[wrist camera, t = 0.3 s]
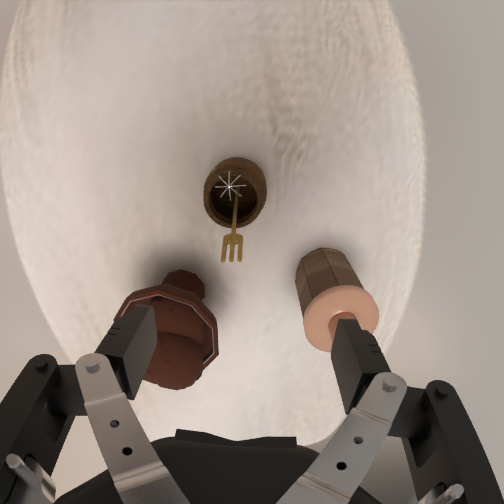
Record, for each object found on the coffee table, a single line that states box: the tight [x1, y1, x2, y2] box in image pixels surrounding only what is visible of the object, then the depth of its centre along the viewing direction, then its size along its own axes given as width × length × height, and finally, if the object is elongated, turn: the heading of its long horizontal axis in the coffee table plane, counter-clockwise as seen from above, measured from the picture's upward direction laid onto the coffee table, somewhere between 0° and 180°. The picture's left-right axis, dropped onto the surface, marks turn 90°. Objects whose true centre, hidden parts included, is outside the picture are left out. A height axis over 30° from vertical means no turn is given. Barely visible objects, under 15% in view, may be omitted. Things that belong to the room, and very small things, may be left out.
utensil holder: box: [204, 158, 267, 262], centre depth 27 cm, size 6×6×12 cm
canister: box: [295, 248, 364, 318], centre depth 33 cm, size 6×6×9 cm
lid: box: [303, 285, 379, 352], centre depth 26 cm, size 7×7×6 cm
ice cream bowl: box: [114, 270, 219, 390], centre depth 31 cm, size 11×11×15 cm
